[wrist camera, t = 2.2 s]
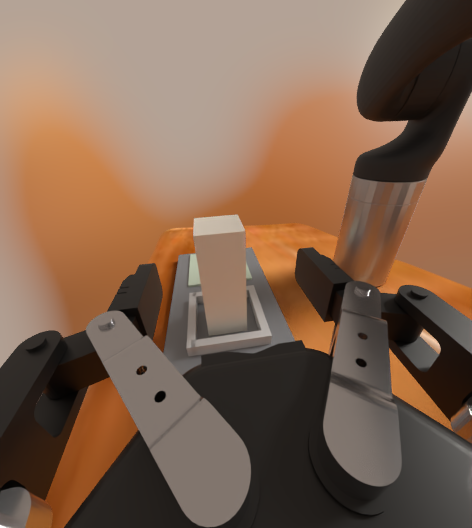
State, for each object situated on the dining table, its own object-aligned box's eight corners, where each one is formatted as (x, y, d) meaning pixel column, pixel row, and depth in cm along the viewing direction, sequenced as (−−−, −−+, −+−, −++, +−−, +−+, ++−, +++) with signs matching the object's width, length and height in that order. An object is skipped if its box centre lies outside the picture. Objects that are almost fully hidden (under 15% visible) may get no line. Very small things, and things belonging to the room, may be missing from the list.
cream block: (207, 309, 32) (194, 218, 24) (240, 304, 32) (237, 214, 25) (208, 336, 28) (193, 236, 20) (247, 330, 28) (245, 231, 21)
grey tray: (180, 260, 47) (177, 248, 46) (251, 253, 49) (251, 241, 47) (162, 389, 24) (155, 373, 22) (301, 365, 25) (304, 349, 24)
